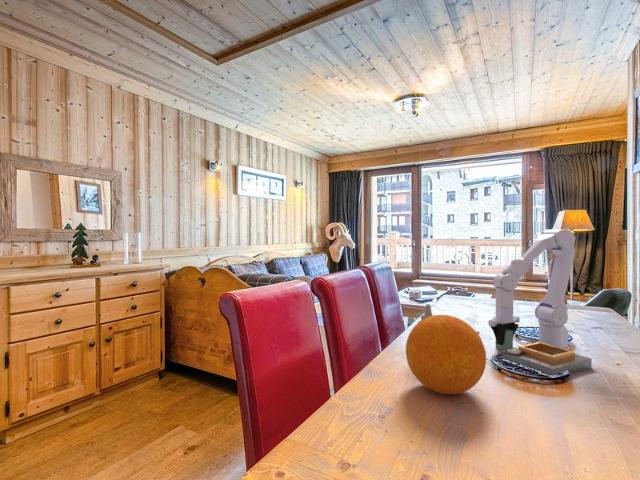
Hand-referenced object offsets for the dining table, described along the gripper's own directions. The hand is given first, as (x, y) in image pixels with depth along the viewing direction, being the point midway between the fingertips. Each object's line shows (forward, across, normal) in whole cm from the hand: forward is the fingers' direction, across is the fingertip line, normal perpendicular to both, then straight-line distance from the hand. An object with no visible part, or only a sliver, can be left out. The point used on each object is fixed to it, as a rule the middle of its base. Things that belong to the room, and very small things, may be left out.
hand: (504, 343), depth 125 cm
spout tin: (+2, 0, 0) cm, 2 cm away
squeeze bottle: (+2, +32, -5) cm, 32 cm away
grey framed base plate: (+2, +2, +16) cm, 16 cm away
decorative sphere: (+2, +46, +16) cm, 49 cm away
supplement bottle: (+2, +15, -1) cm, 15 cm away
